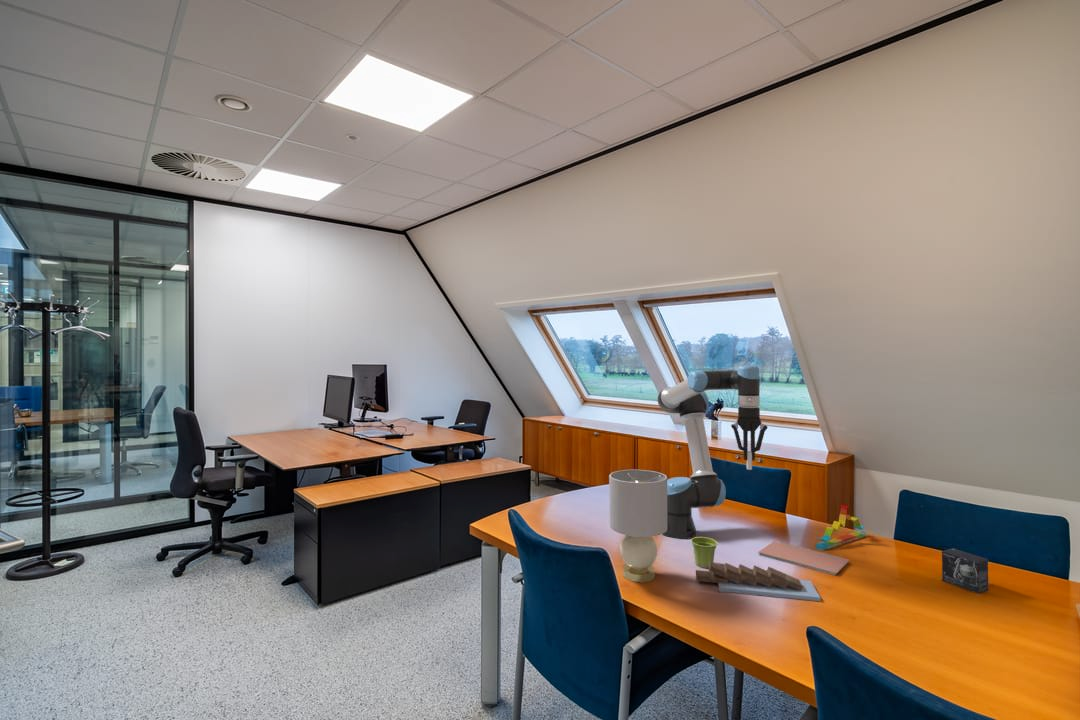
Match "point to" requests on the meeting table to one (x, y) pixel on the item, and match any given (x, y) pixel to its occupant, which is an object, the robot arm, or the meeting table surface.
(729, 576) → the domino
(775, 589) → the strip board
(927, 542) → the meeting table surface
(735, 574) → the domino
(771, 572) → the domino
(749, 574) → the domino
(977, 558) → the box
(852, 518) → the toy brick structure
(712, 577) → the domino
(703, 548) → the plant pot
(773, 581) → the domino
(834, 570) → the notebook
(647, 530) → the lamp
